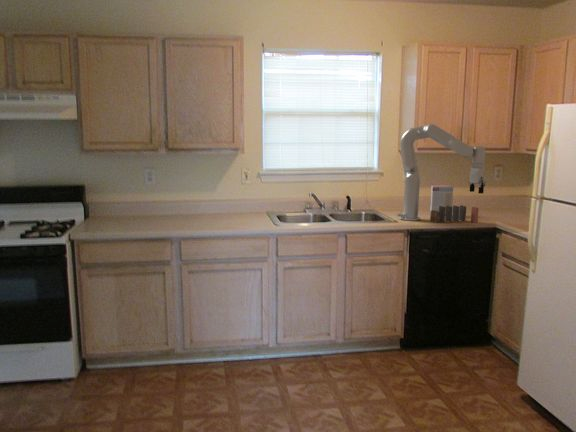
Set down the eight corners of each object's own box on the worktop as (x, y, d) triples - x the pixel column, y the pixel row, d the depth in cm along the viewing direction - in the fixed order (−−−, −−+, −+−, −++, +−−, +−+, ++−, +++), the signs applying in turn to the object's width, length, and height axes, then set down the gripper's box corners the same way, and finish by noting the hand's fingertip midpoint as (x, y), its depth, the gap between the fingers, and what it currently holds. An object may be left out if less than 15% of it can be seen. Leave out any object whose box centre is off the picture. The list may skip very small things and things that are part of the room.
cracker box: (450, 215, 360) (451, 185, 356) (451, 216, 354) (453, 186, 350) (429, 214, 361) (431, 185, 357) (431, 216, 355) (432, 185, 351)
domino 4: (463, 221, 334) (464, 206, 333) (458, 220, 339) (459, 205, 337) (465, 221, 335) (466, 206, 333) (461, 220, 339) (462, 205, 338)
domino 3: (456, 221, 333) (457, 206, 331) (452, 220, 338) (453, 205, 336) (458, 221, 334) (459, 206, 332) (454, 220, 338) (455, 205, 337)
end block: (435, 222, 329) (436, 212, 327) (430, 221, 335) (430, 210, 334) (439, 222, 329) (439, 212, 328) (433, 220, 336) (434, 210, 335)
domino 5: (475, 223, 330) (476, 207, 328) (470, 221, 335) (471, 206, 333) (477, 222, 330) (478, 207, 328) (473, 221, 335) (474, 206, 333)
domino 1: (442, 222, 331) (443, 207, 329) (438, 221, 336) (439, 206, 334) (444, 222, 331) (445, 207, 330) (440, 220, 336) (441, 205, 334)
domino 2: (449, 222, 332) (450, 206, 330) (445, 220, 337) (446, 205, 335) (451, 222, 332) (452, 206, 331) (447, 220, 337) (448, 205, 335)
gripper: (465, 164, 334) (463, 191, 336) (480, 166, 317) (479, 194, 320) (475, 164, 335) (473, 190, 338) (491, 166, 319) (489, 193, 322)
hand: (476, 192), depth 329 cm, fingers open, 9 cm apart
